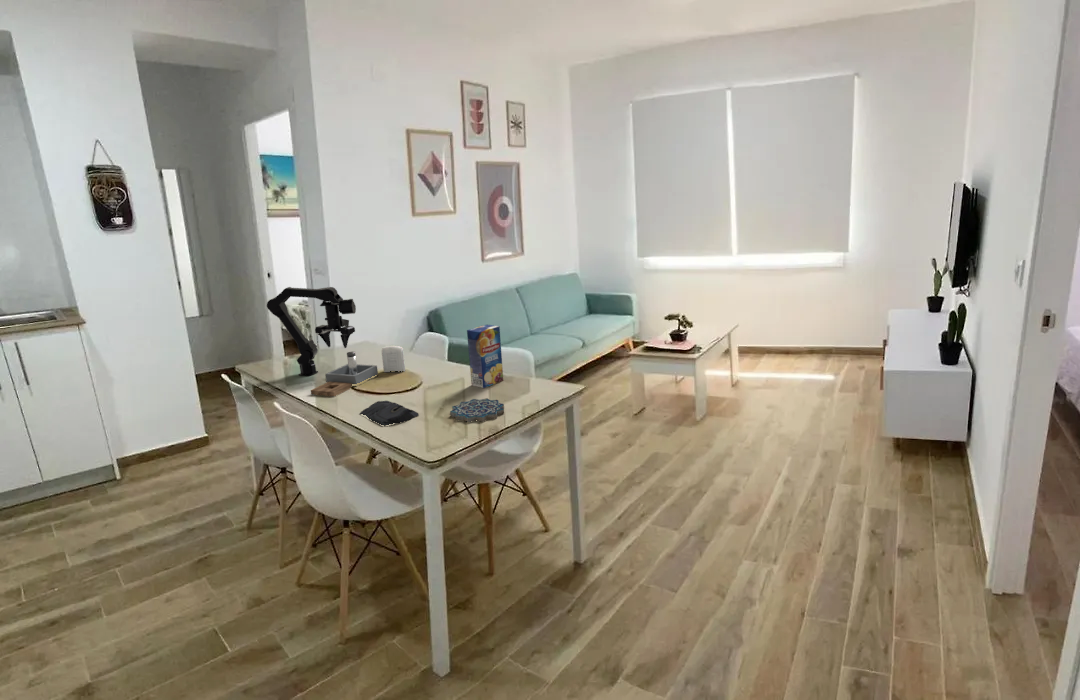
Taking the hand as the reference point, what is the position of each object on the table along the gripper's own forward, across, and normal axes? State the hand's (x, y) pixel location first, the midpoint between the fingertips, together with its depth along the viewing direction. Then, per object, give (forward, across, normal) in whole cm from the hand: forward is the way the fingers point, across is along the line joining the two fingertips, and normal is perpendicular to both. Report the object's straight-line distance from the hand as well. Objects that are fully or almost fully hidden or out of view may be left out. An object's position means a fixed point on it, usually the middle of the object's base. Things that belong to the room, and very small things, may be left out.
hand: (337, 347), depth 288 cm
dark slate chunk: (+13, -57, +44) cm, 73 cm away
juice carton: (+12, -77, +1) cm, 78 cm away
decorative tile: (+13, -89, +34) cm, 96 cm away
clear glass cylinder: (+11, -15, +10) cm, 21 cm away
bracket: (+12, -15, +25) cm, 32 cm away
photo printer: (+12, -26, -6) cm, 29 cm away
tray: (+12, -14, +10) cm, 21 cm away
